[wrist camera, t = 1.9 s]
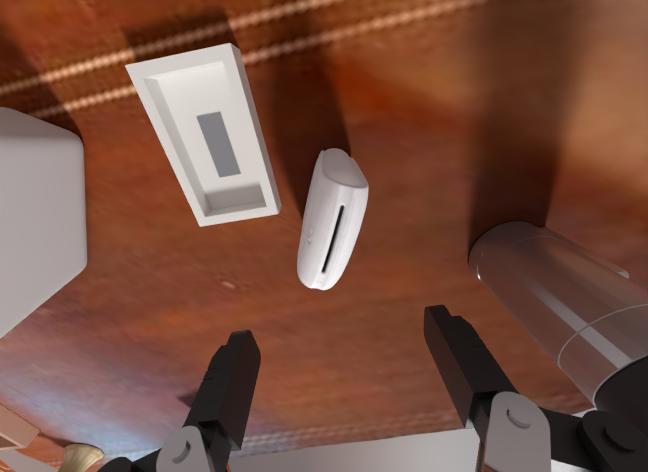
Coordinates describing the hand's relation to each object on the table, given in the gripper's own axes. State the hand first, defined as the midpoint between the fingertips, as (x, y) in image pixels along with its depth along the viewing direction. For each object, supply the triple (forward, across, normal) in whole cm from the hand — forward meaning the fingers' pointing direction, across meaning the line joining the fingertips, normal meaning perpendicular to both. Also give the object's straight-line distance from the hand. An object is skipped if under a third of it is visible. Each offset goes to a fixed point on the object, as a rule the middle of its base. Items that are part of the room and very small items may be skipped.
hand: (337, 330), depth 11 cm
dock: (+19, +10, -7) cm, 23 cm away
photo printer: (+20, 0, 0) cm, 20 cm away
